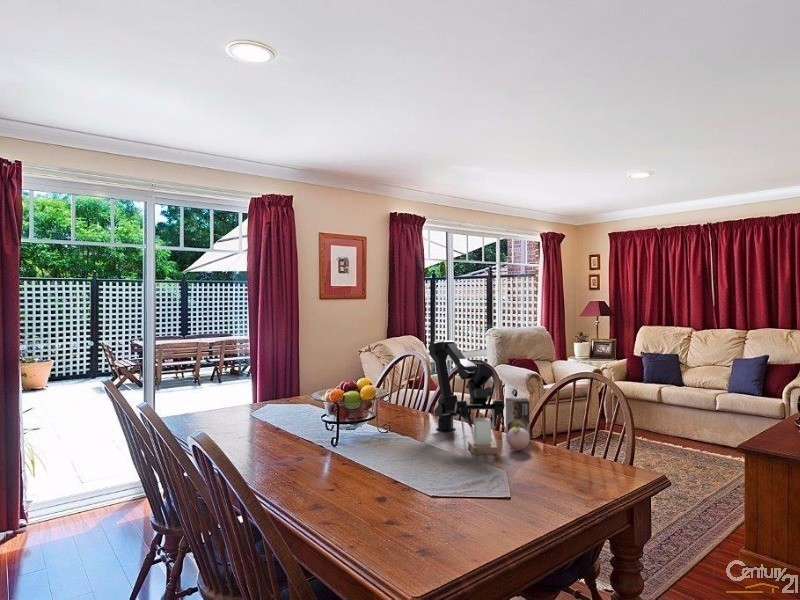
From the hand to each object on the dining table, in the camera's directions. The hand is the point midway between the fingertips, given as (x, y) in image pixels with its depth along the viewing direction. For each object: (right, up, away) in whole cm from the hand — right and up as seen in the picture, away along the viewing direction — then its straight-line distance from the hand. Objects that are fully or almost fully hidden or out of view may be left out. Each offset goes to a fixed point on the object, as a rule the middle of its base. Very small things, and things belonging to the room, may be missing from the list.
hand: (483, 426), depth 192 cm
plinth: (0, -10, +1) cm, 10 cm away
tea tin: (0, -7, +1) cm, 7 cm away
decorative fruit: (+13, -10, +1) cm, 17 cm away
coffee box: (+17, -10, +19) cm, 28 cm away
